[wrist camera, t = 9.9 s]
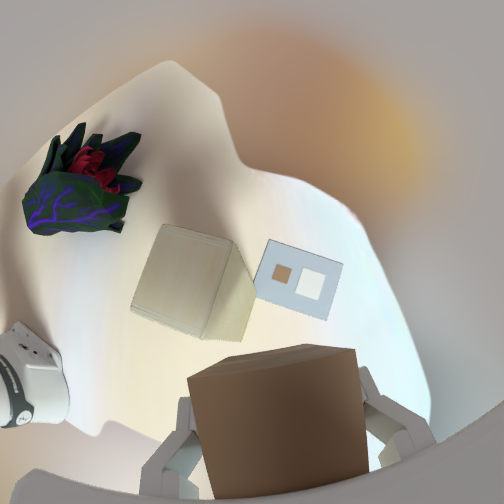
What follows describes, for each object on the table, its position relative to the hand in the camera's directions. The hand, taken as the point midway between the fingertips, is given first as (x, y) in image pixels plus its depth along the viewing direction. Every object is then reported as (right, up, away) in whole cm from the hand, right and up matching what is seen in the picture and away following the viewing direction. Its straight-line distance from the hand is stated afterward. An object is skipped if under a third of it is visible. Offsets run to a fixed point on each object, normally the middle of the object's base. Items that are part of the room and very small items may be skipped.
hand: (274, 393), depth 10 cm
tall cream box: (-5, -3, +31) cm, 31 cm away
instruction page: (+6, +1, +31) cm, 32 cm away
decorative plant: (-27, +15, +38) cm, 49 cm away
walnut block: (0, -2, +5) cm, 5 cm away
